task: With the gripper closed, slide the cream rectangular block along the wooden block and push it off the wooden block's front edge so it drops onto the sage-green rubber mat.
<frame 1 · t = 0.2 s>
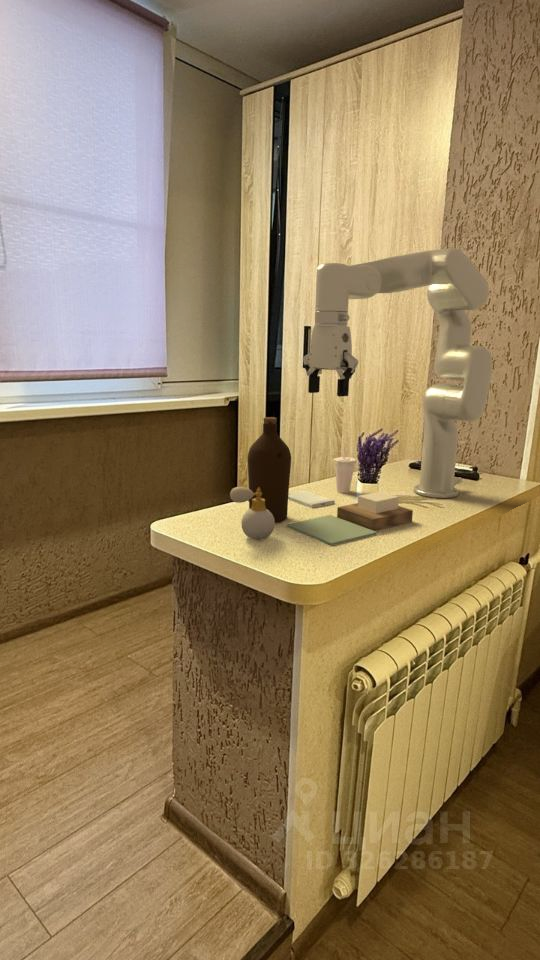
hand: (327, 394, 143), 31 cm above the worktop, tool pointing down, fingers open, 9 cm apart
smoothie: (343, 492, 176), on the worktop
perfume bottle: (253, 539, 134), on the worktop
mat: (330, 530, 140), on the worktop
cream rectangular block: (377, 508, 149), point 3 cm above the worktop, touching wooden block
olive oil: (268, 518, 149), on the worktop
wooden block: (374, 520, 149), on the worktop
hard drive: (308, 503, 166), on the worktop
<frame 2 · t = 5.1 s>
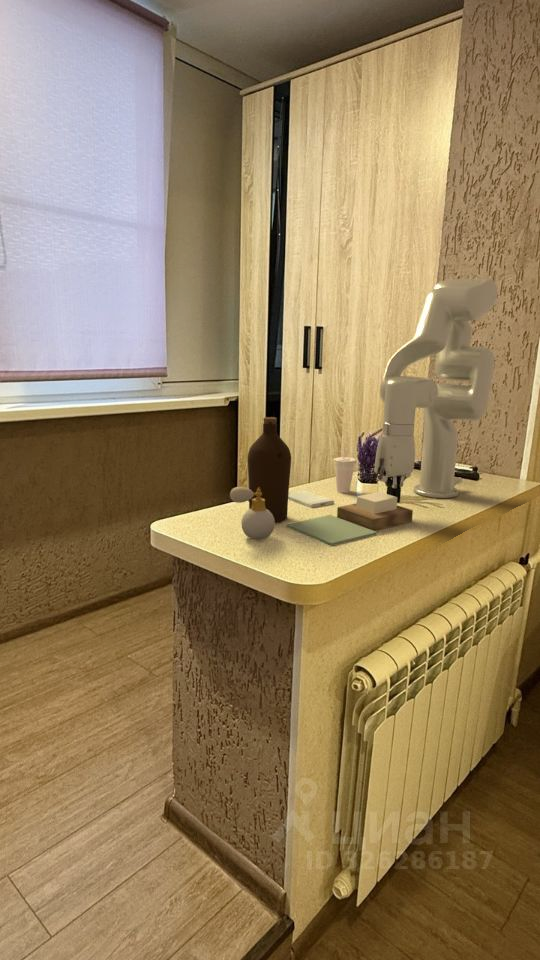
hand: (393, 501, 152), 4 cm above the worktop, tool pointing down, fingers closed
cream rectangular block: (376, 508, 148), point 3 cm above the worktop, touching gripper
everything else where it was.
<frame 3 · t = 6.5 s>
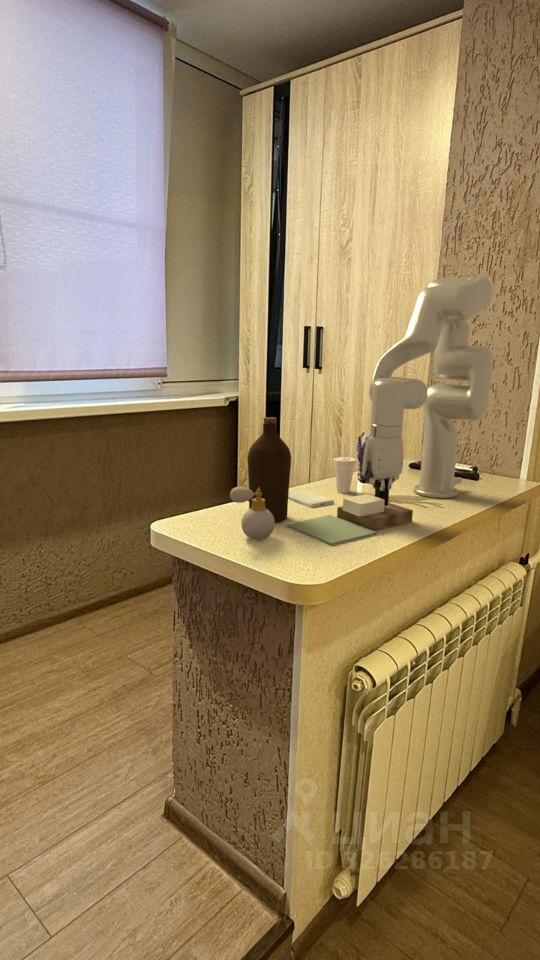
hand: (381, 504, 149), 4 cm above the worktop, tool pointing down, fingers closed
cream rectangular block: (363, 510, 146), point 3 cm above the worktop, touching wooden block, gripper
everything else where it was.
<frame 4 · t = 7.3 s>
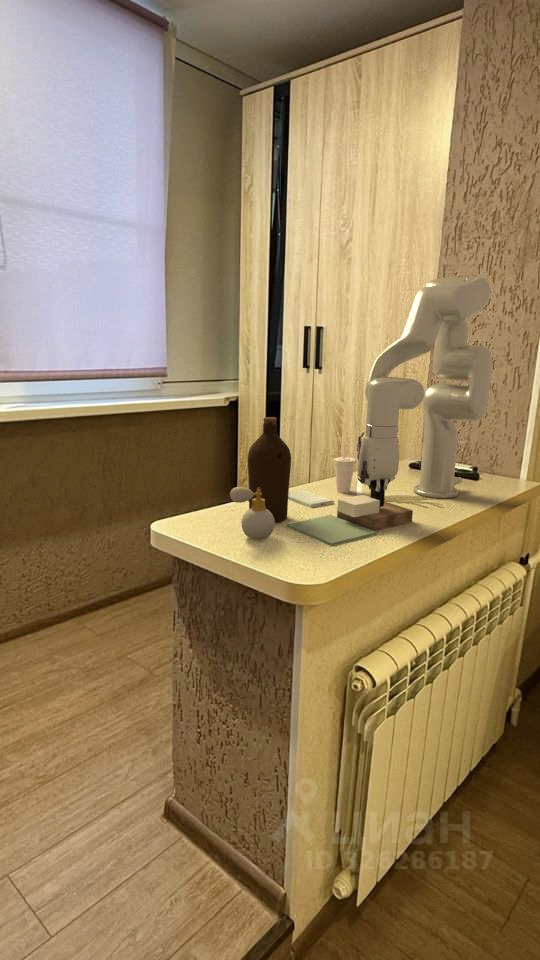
hand: (376, 505, 148), 4 cm above the worktop, tool pointing down, fingers closed
cream rectangular block: (358, 511, 145), point 3 cm above the worktop, touching wooden block, gripper
everything else where it was.
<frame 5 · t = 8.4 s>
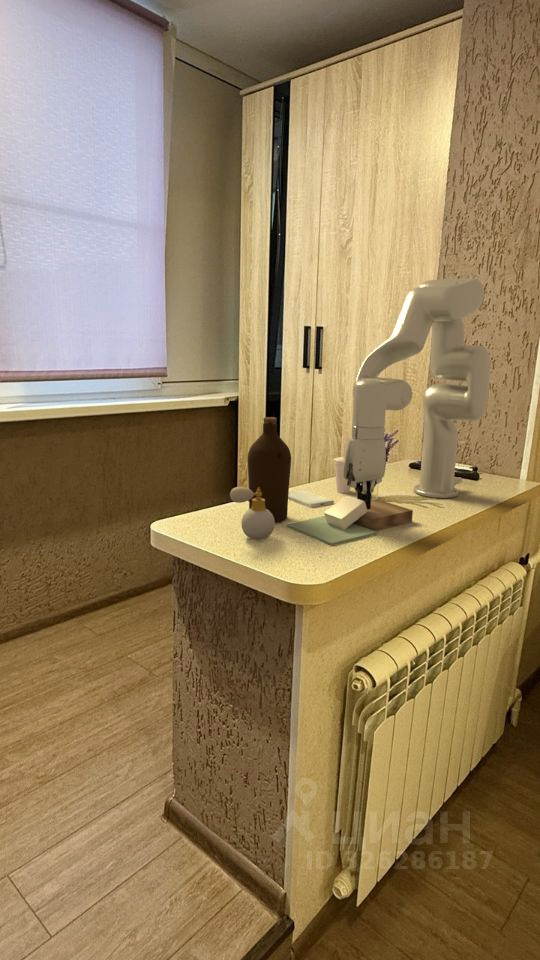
hand: (363, 508, 146), 4 cm above the worktop, tool pointing down, fingers closed
cream rectangular block: (347, 517, 144), point 2 cm above the worktop, tilted 23°, touching wooden block, gripper, mat
everything else where it was.
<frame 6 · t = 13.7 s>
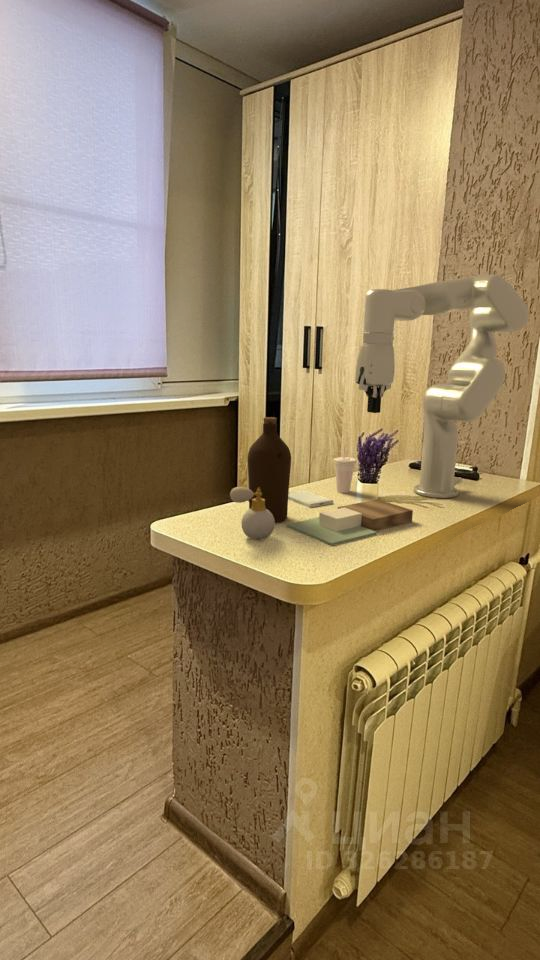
hand: (373, 412, 157), 25 cm above the worktop, tool pointing down, fingers closed
cream rectangular block: (340, 525, 143), point 1 cm above the worktop, touching mat
everything else where it was.
at the end: cream rectangular block inside the target area on the mat (3.4 cm from its centre), point 0.6 cm above the mat's base; cream rectangular block tilted 0° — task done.
